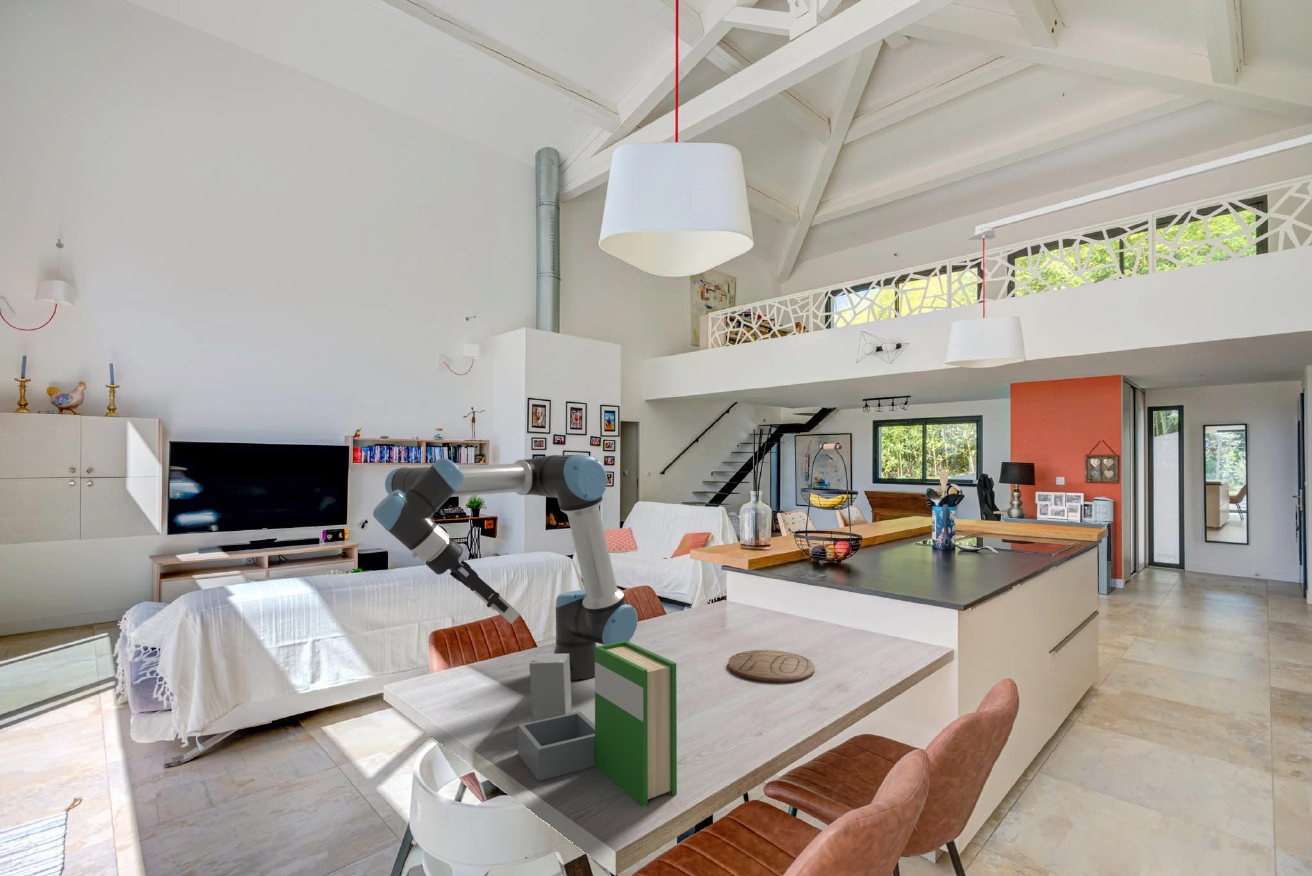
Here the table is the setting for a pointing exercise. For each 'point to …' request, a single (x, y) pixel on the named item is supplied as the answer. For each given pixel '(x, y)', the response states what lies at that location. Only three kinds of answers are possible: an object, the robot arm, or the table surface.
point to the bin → (557, 745)
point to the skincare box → (550, 686)
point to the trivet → (771, 666)
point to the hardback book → (636, 720)
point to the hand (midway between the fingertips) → (506, 612)
